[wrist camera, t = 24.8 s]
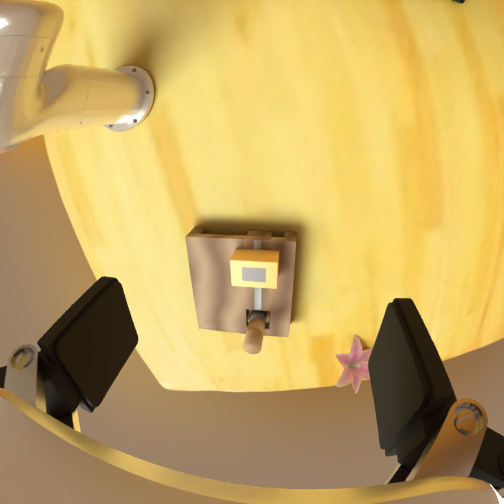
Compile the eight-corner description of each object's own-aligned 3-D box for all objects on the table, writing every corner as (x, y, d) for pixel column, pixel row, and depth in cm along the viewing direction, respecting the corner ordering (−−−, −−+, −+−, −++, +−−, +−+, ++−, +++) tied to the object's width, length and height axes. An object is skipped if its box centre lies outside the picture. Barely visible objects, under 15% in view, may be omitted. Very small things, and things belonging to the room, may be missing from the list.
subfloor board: (204, 316, 57) (198, 328, 53) (193, 228, 48) (185, 236, 45) (289, 323, 54) (288, 337, 51) (296, 232, 46) (296, 241, 42)
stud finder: (236, 272, 46) (231, 285, 43) (235, 248, 44) (230, 260, 41) (278, 275, 45) (276, 288, 42) (279, 250, 43) (277, 262, 40)
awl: (251, 319, 52) (243, 353, 44) (250, 307, 51) (242, 340, 43) (266, 320, 52) (260, 354, 44) (266, 308, 50) (260, 342, 42)
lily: (371, 363, 58) (391, 377, 49) (330, 388, 57) (345, 406, 48) (357, 323, 58) (377, 334, 48) (312, 349, 57) (327, 364, 47)
